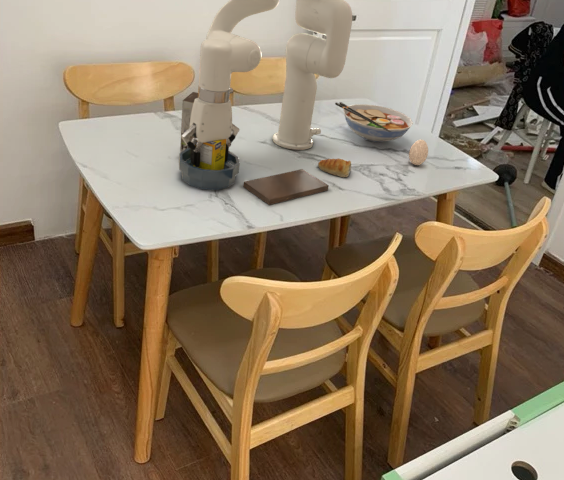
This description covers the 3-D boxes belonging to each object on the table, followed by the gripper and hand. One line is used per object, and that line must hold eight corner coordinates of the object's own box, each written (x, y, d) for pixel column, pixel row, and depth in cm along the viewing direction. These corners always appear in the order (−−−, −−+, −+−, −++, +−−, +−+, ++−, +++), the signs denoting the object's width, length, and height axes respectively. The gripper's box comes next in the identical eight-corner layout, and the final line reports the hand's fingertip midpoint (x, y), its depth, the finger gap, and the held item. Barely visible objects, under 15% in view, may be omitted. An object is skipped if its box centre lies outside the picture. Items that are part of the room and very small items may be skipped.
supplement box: (223, 177, 159) (227, 138, 153) (212, 185, 155) (215, 144, 149) (204, 170, 161) (206, 131, 155) (192, 178, 156) (194, 138, 150)
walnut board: (301, 173, 168) (302, 168, 167) (327, 190, 161) (328, 185, 160) (243, 186, 156) (243, 181, 155) (269, 205, 150) (269, 199, 149)
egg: (413, 159, 188) (419, 135, 183) (427, 166, 185) (434, 141, 180) (402, 163, 184) (409, 138, 180) (417, 169, 181) (424, 144, 177)
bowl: (216, 162, 167) (217, 143, 164) (248, 184, 158) (250, 165, 155) (167, 171, 158) (168, 151, 155) (199, 195, 149) (200, 175, 146)
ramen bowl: (424, 148, 197) (431, 124, 192) (372, 157, 185) (378, 131, 180) (373, 121, 213) (379, 98, 208) (323, 127, 201) (327, 103, 196)
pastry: (315, 172, 170) (317, 159, 168) (319, 163, 176) (321, 151, 174) (348, 179, 169) (351, 166, 167) (351, 170, 175) (353, 157, 173)
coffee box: (201, 162, 165) (205, 104, 156) (179, 158, 166) (181, 100, 157) (211, 151, 173) (215, 95, 164) (190, 146, 173) (192, 90, 164)
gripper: (234, 86, 153) (228, 151, 163) (174, 92, 143) (172, 161, 153) (252, 96, 148) (245, 162, 158) (191, 103, 138) (187, 173, 148)
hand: (209, 161), depth 155 cm, fingers closed on supplement box, 7 cm apart
